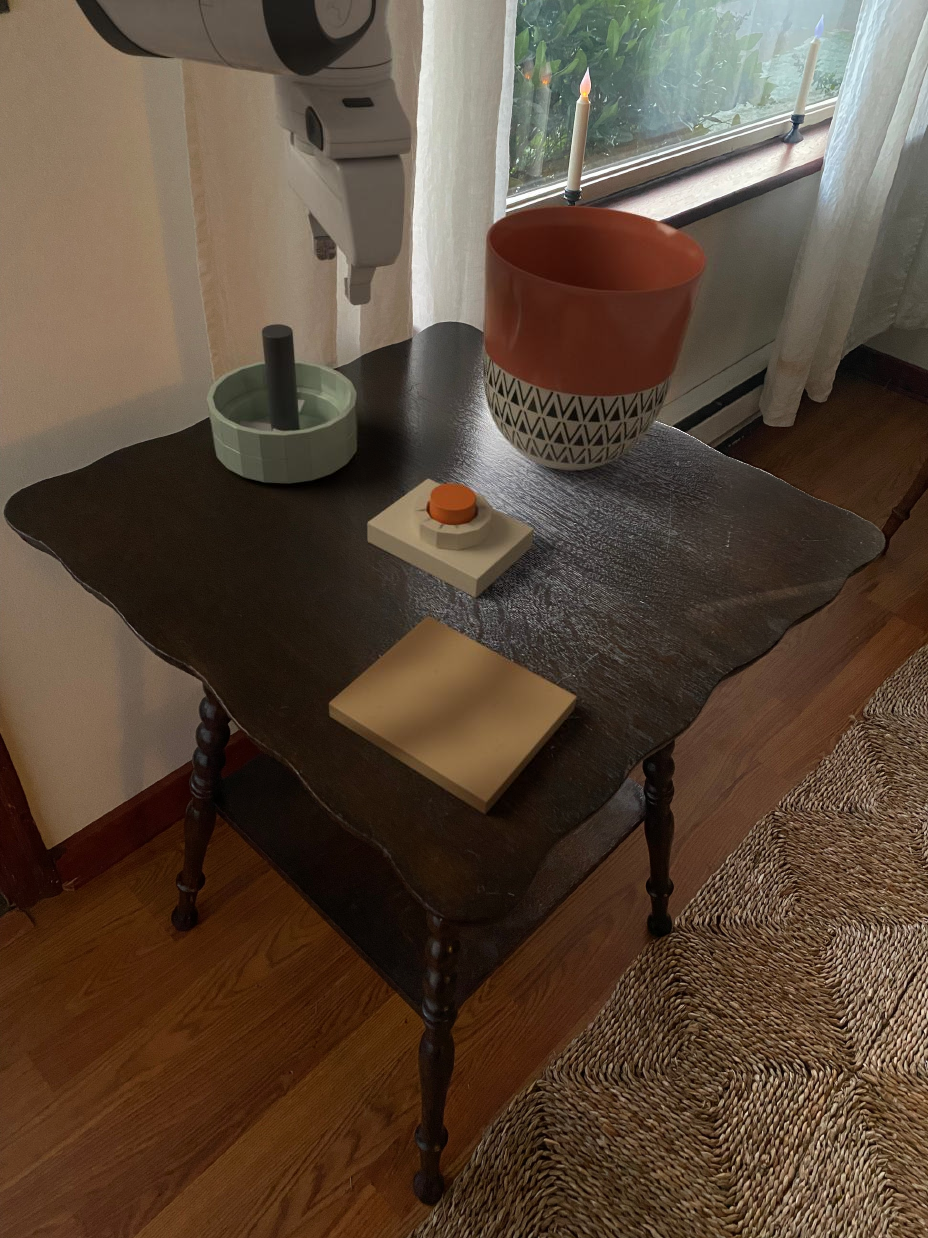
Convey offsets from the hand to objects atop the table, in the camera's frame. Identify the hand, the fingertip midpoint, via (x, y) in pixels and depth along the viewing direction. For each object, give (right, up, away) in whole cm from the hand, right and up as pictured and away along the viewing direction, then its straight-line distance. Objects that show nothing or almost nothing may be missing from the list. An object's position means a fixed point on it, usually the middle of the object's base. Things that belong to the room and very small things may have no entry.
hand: (340, 278), depth 77 cm
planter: (+21, -12, +17) cm, 29 cm away
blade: (-7, -12, +13) cm, 19 cm away
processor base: (+9, -23, +4) cm, 25 cm away
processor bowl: (-7, -12, +14) cm, 20 cm away
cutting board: (+10, -36, -10) cm, 39 cm away
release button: (+10, -20, +2) cm, 22 cm away
